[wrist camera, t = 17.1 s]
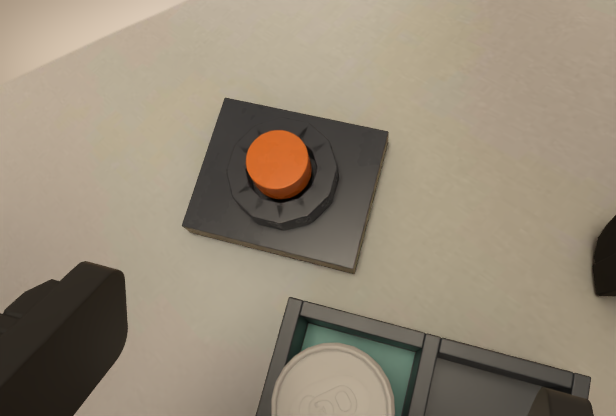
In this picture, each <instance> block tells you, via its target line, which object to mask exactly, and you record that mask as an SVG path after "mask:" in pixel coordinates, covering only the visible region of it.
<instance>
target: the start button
mask: <svg viewBox="0 0 616 416" xmlns="http://www.w3.org/2000/svg"><path fill="white" fill-rule="evenodd" d="M246 168H247V171H248V173H249V175H250V177H251V179H252V180H253V182H254V183H255V185H256V187H257V188H258V189H259V190H260V191H261V192H262V193H263V194H264V195H266V196H268V197H270V198H274V199H287V198H291V197H293V196H295V195H297V194H299V193H300V192H301V191H302V190H303V189H304V188H305V187H306V186H307V184H308V182H309V180H310V178H311V173H312V166H311V161H310V158H309V155H308V151H307V148H306V146H305V144H304V143H303V141H302V140H301V139H300V138H299V137H298V136H296V135H295V134H293V133H291V132H288V131H284V130H273V131H269V132H266V133H264V134H262V135H261V136H259V137H258V138H257V139H255V140H254V142H253V143H252V144H251V146H250V147H249V149H248V152H247V155H246Z"/></svg>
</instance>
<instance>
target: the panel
mask: <svg viewBox="0 0 616 416" xmlns="http://www.w3.org/2000/svg"><path fill="white" fill-rule="evenodd" d="M273 130H284V131H288V132H291V133H293V134H295V135H296V136H298V137H299V138H300V139H301V140H302V141H303V143H304V144H305V146H306V148H307V151H308V155H309V158H310V161H311V166H312V173H311V178H310V180H309V182H308V184H307V186H306V187H305V188H304V189H303V190H302V191H301V192H300V193H299V194H297V195H295V196H293V197H291V198H287V199H274V198H270V197H268V196H266V195H264V194H263V193H262V192H261V191H260V190H259V189H258V188H257V187H256V185H255V183H254V182H253V180H252V179H251V177H250V175H249V173H248V171H247V168H246V155H247V152H248V149H249V147H250V146H251V144H252V143H253V142H254V140H255V139H257V138H258V137H259V136H261V135H262V134H264V133H266V132H269V131H273ZM388 133H389V132H388V131H383V130H378V129H373V128H369V127H364V126H359V125H354V124H349V123H345V122H340V121H335V120H330V119H325V118H321V117H316V116H311V115H306V114H301V113H297V112H292V111H287V110H282V109H277V108H273V107H268V106H263V105H258V104H253V103H249V102H244V101H239V100H234V99H229V98H225V99H224V102H223V105H222V108H221V111H220V114H219V116H218V119H217V122H216V125H215V128H214V131H213V134H212V137H211V140H210V143H209V146H208V149H207V152H206V155H205V158H204V161H203V164H202V167H201V170H200V173H199V176H198V179H197V182H196V185H195V188H194V191H193V194H192V197H191V200H190V203H189V206H188V209H187V212H186V215H185V218H184V221H183V224H182V226H183V227H184V228H185V229H187V230H188V231H189V232H191V233H195V234H199V235H203V236H207V237H211V238H215V239H219V240H222V241H226V242H230V243H234V244H238V245H242V246H246V247H250V248H254V249H258V250H262V251H266V252H270V253H274V254H278V255H282V256H285V257H289V258H293V259H297V260H301V261H305V262H309V263H313V264H317V265H321V266H325V267H329V268H333V269H337V270H341V271H345V272H349V273H352V274H354V273H355V269H356V265H357V261H358V257H359V254H360V250H361V246H362V242H363V238H364V234H365V230H366V226H367V222H368V218H369V214H370V210H371V207H372V203H373V199H374V195H375V191H376V187H377V183H378V179H379V175H380V171H381V167H382V163H383V160H384V156H385V152H386V148H387V144H388Z"/></svg>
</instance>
